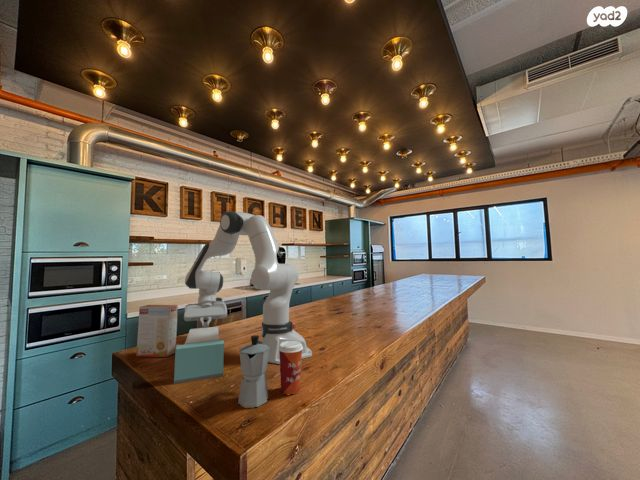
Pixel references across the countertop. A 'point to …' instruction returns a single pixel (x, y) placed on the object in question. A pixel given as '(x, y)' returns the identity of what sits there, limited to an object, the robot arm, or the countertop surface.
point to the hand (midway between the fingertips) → (205, 326)
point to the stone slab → (202, 335)
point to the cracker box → (157, 330)
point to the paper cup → (290, 366)
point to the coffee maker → (253, 373)
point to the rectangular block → (198, 361)
